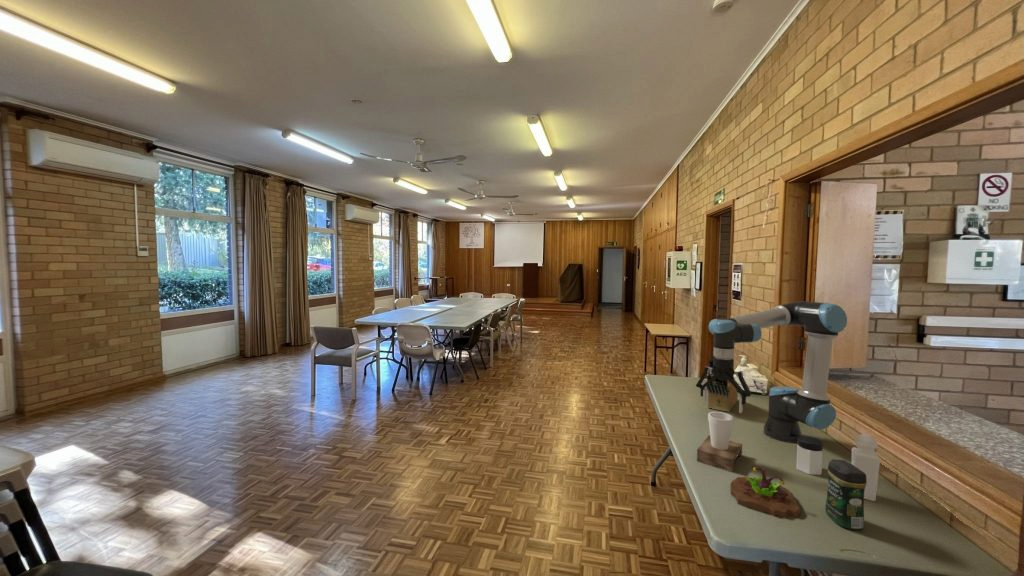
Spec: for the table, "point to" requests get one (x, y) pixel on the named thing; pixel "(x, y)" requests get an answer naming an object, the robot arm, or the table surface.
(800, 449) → the jar
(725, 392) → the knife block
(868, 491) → the soap dispenser
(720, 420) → the foam cup
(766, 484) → the plant
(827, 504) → the coffee jar
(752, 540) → the table surface
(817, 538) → the table surface
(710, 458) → the walnut shelf stand
